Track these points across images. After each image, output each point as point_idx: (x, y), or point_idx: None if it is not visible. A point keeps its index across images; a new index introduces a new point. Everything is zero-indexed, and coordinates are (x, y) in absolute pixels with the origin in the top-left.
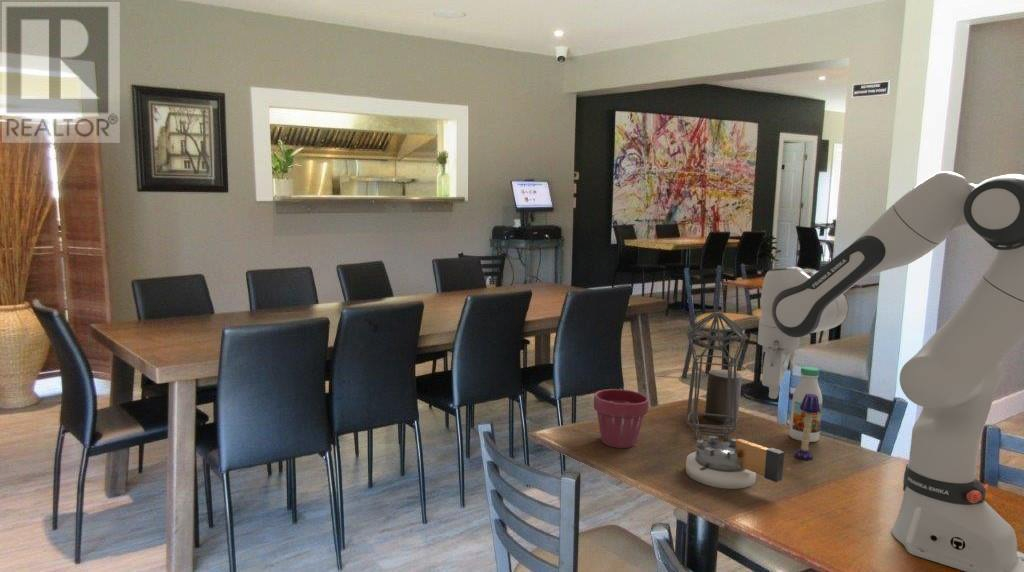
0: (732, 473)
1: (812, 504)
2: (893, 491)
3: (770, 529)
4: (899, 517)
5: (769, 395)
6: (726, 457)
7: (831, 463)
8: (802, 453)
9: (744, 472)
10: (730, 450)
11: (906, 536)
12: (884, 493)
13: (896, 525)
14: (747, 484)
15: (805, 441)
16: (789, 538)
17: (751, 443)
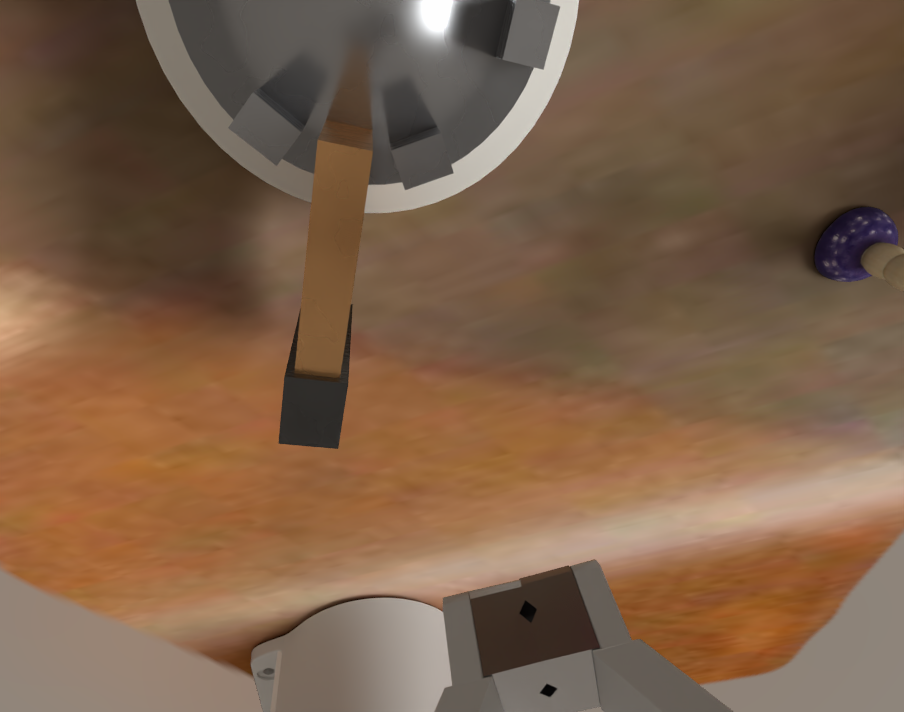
0: None
1: (364, 423)
2: (650, 531)
3: (22, 404)
4: (333, 660)
5: (446, 619)
6: (248, 88)
7: (821, 344)
8: (843, 254)
9: None
10: (398, 52)
11: (282, 660)
12: (618, 522)
13: (333, 634)
14: None
15: (899, 281)
16: (27, 464)
17: (341, 255)
